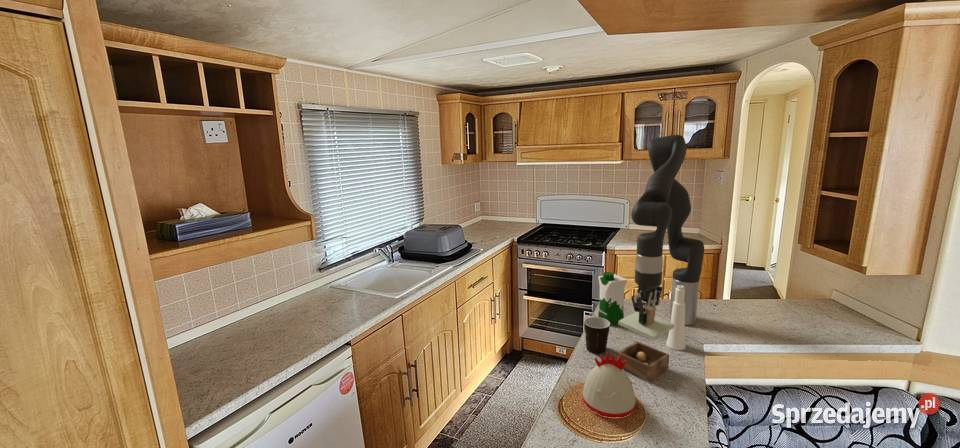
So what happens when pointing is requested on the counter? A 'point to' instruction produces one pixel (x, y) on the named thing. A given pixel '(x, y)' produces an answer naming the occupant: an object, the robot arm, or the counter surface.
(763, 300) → the counter surface
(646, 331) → the lid
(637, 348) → the box
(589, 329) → the coffee mug
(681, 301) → the cosmetic bottle
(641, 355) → the ball
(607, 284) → the milk carton
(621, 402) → the cream dome
